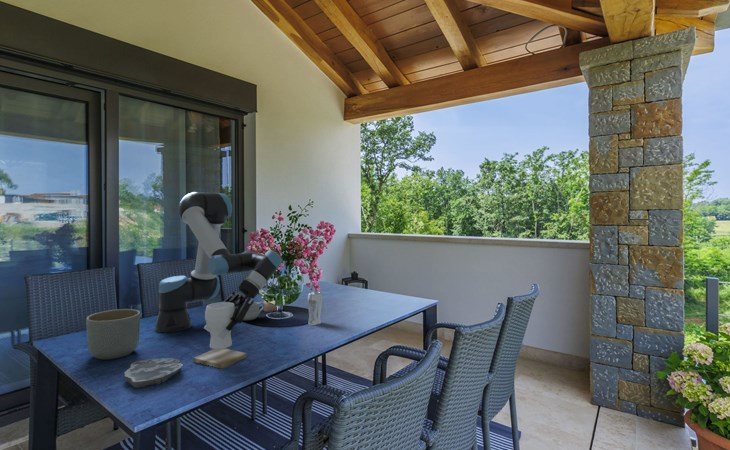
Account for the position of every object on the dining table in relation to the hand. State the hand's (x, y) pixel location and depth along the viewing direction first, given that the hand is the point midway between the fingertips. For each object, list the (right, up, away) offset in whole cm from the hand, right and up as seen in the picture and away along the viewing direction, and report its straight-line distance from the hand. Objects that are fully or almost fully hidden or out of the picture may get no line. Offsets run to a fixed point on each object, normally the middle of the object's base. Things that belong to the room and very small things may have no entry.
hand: (213, 333), depth 139 cm
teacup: (-3, -8, +56) cm, 57 cm away
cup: (+2, -5, +2) cm, 6 cm away
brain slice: (-15, -11, -11) cm, 22 cm away
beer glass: (+30, -9, +49) cm, 58 cm away
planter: (-40, -10, +6) cm, 41 cm away
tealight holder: (+3, -8, +73) cm, 74 cm away
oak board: (+2, -10, +3) cm, 11 cm away
